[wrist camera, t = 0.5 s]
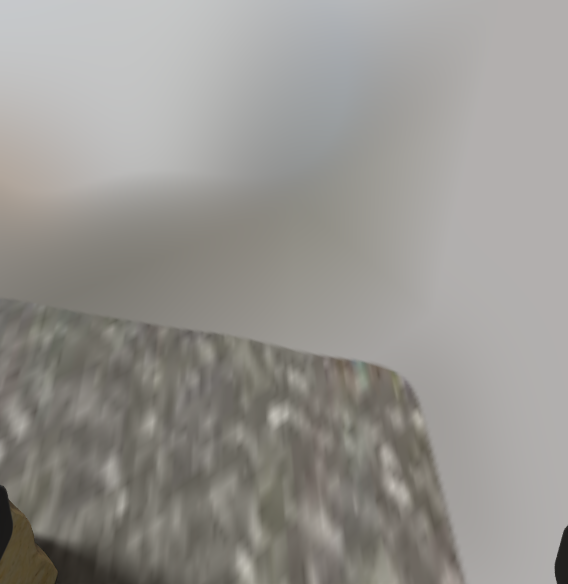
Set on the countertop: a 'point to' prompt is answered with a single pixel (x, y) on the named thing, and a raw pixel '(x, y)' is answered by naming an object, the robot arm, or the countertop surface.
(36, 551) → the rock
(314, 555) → the countertop surface
